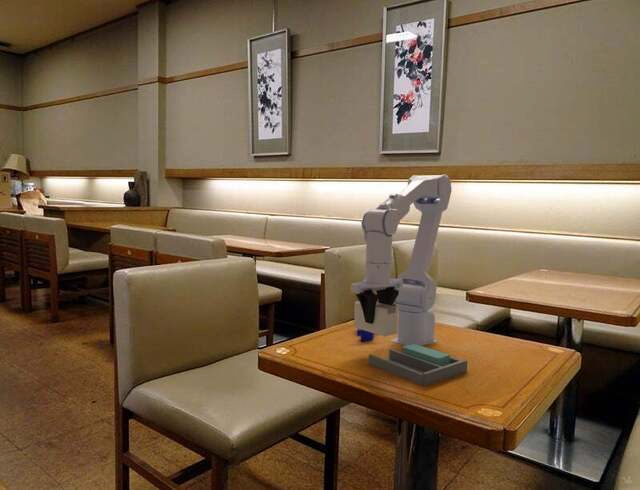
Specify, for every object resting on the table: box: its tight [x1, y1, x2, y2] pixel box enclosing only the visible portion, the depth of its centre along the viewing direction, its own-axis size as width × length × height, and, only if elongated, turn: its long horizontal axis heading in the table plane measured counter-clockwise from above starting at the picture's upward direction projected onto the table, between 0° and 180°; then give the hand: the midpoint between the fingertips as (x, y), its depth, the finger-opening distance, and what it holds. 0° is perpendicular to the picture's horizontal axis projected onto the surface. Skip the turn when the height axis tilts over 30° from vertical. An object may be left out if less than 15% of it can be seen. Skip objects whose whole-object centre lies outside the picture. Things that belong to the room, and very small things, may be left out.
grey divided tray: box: [367, 344, 468, 387], centre depth 104 cm, size 14×16×3 cm
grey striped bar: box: [353, 300, 399, 337], centre depth 110 cm, size 4×10×6 cm, turn 37°
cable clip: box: [356, 328, 375, 343], centre depth 130 cm, size 12×4×6 cm, turn 171°
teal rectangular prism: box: [401, 344, 451, 367], centre depth 106 cm, size 4×10×3 cm, turn 39°
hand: (376, 321), depth 110 cm, fingers closed on grey striped bar, 4 cm apart
